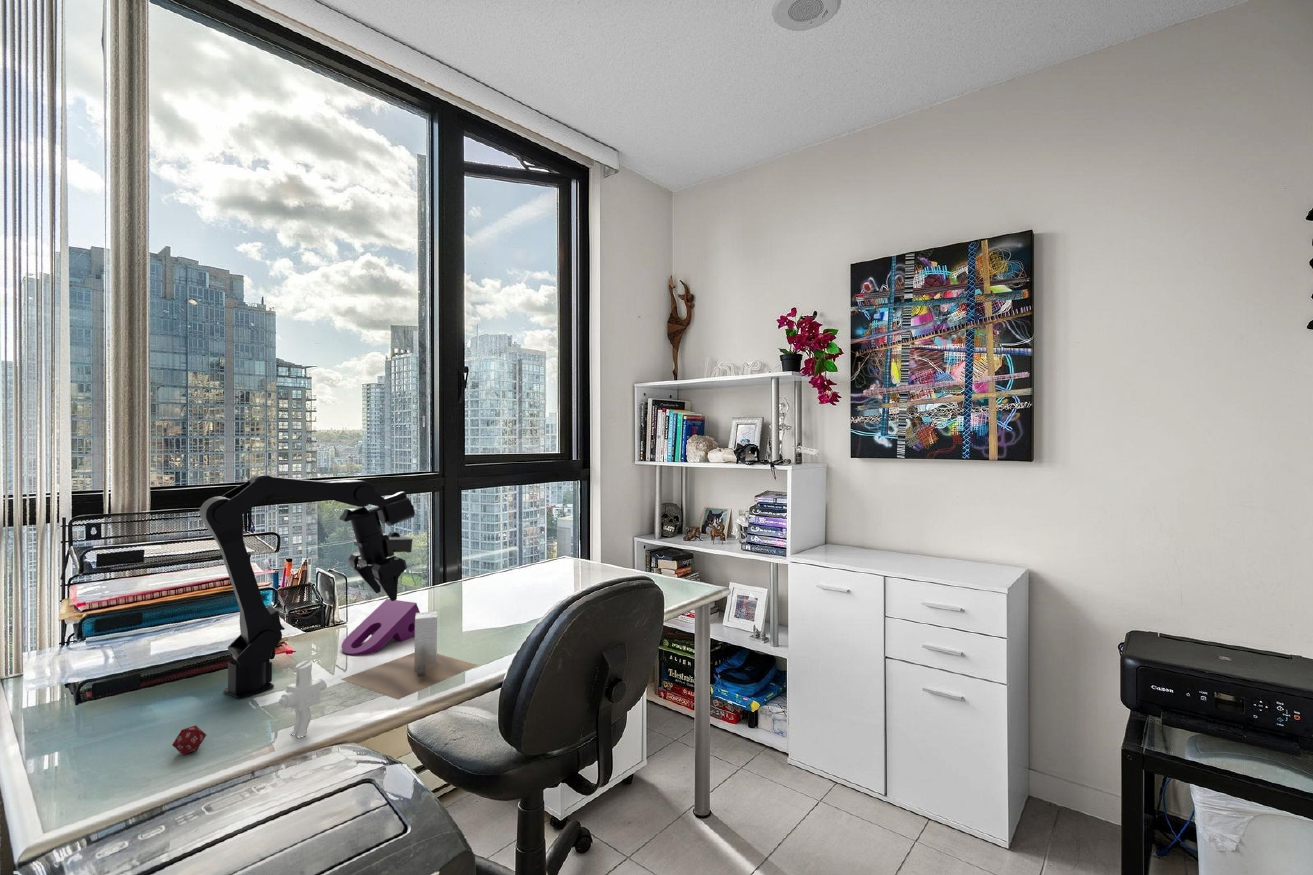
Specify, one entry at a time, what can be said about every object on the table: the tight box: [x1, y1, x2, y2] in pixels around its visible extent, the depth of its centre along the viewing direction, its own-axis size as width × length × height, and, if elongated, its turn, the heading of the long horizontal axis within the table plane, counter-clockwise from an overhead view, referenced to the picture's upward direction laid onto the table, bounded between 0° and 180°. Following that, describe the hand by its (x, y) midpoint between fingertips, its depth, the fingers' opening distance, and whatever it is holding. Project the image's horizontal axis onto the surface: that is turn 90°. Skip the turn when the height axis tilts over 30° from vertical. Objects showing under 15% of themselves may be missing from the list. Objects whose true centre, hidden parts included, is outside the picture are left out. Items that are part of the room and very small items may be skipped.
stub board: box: [341, 651, 478, 700], centre depth 126 cm, size 20×18×4 cm
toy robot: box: [278, 660, 328, 737], centre depth 103 cm, size 4×8×12 cm, turn 155°
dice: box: [171, 725, 207, 756], centre depth 96 cm, size 4×4×4 cm
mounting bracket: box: [340, 598, 421, 656], centre depth 145 cm, size 10×8×18 cm
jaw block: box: [414, 610, 438, 670], centre depth 130 cm, size 4×4×11 cm
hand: (386, 596), depth 138 cm, fingers open, 9 cm apart
